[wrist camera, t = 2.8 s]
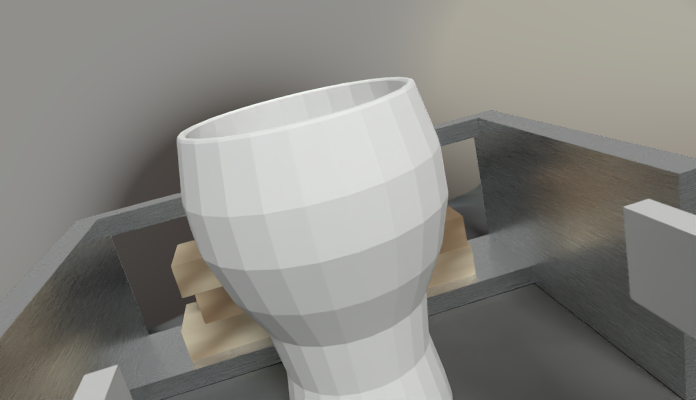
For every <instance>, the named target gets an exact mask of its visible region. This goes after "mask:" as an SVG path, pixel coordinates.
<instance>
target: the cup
mask: <svg viewBox="0 0 696 400" xmlns="http://www.w3.org/2000/svg"><path fill="white" fill-rule="evenodd" d="M177 148H178V161H179V172H180V184H181V196H182V204H183V207H184V210H185V213H186V216H187V219H188V221H189V224H190V228H191V230H192V233H193V236H194V239H195V242H196V245H197V248H198V250H199V252H200V254H201V256H202V258H203V259H204V261H205V262H206V264H207V265H208V266H209V268H210V269H211V271H212V272H213V273H214V275H215V276H216V278H217V279H218V280H219V282H220V283H221V285H222V286H223V287H224V289H225V290H226V292H227V293H228V294H229V296H230V297H231V298H232V300H233V301H234V302H235V303H236V304H237V305H238V306H239V307H240V308H241V309H242V310H244V311H245V312H246V313H247V314H248V315H249V316H250V317H251V318H252V319H254V320H255V321H256V322H257V323H258V324H259V325H260V326H261V327H262V328H264V329H265V330H266V331H267V332H268V334H269V336H270V338H271V340H272V342H273V344H274V346H275V348H276V350H277V352H278V354H279V357H280V359H281V361H282V363H283V365H284V367H285V369H286V371H287V377H288V387H289V397H290V400H453V398H452V391H451V388H450V385H449V382H448V379H447V376H446V373H445V371H444V368H443V366H442V363H441V361H440V358H439V356H438V354H437V351H436V349H435V346H434V344H433V341H432V339H431V337H430V334H429V331H428V311H427V288H428V285H429V282H430V279H431V276H432V273H433V270H434V267H435V264H436V261H437V258H438V255H439V252H440V249H441V247H442V242H443V234H444V226H445V217H446V209H447V201H448V189H447V183H446V177H445V171H444V165H443V160H442V153H441V147H440V143H439V139H438V136H437V134H436V131H435V129H434V127H433V124H432V122H431V119H430V117H429V115H428V113H427V110H426V108H425V105H424V103H423V101H422V99H421V96H420V94H419V91H418V89H417V87H416V84H415V82H414V80H413V79H411V78H406V77H387V78H378V79H369V80H362V81H356V82H349V83H344V84H338V85H333V86H328V87H323V88H318V89H314V90H309V91H304V92H300V93H296V94H292V95H288V96H284V97H280V98H276V99H272V100H269V101H265V102H261V103H258V104H254V105H250V106H247V107H244V108H241V109H237V110H234V111H231V112H228V113H225V114H222V115H220V116H216V117H214V118H211V119H208V120H206V121H203V122H201V123H198V124H196V125H193V126H192V127H190V128H188V129H186V130H184V131H182V132H181V133H180V134H179V136H178V137H177Z"/></svg>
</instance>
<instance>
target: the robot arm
mask: <svg viewBox="0 0 696 400" xmlns="http://www.w3.org/2000/svg"><path fill="white" fill-rule="evenodd" d="M623 214H624V226H625V238H626V250H627V262H628V274H629V286H630V298H631V299H632V300H633V301H635V302H637V303H638V304H640V305H641V306H643V307H645V308H646V309H648V310H650V311H651V312H653V313H654V314H656V315H658V316H659V317H661V318H662V319H664V320H666V321H667V322H669V323H670V324H672V325H674V326H675V327H677V328H679V329H680V330H682V331H683V332H685V333H687V334H688V335H690V336H691V337H693V338H695V339H696V215H694V214H691V213H688V212H685V211H682V210H679V209H677V208H674V207H671V206H668V205H665V204H662V203H660V202H657V201H654V200H651V199H646V200H643V201H640V202H637V203H634V204H630V205H627V206H624V207H623ZM73 400H133V399H132V396H131V394H130V392H129V389H128V387H127V385H126V382H125V380H124V378H123V375H122V373H121V371H120V368H119V366H118V365H115V366H112V367H108V368H105V369H102V370H99V371H95V372H92V373H89V374H86V375H84V377H83V379H82V381H81V383H80V385H79V387H78V389H77V392H76V394H75V396H74V398H73Z"/></svg>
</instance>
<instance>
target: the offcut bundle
mask: <svg viewBox="0 0 696 400" xmlns="http://www.w3.org/2000/svg"><path fill="white" fill-rule="evenodd" d="M171 268H172V271H173V273H174V276H175V279H176V281H177V284H178V287H179V290H180V293H181V296H182V298H184V297H188V296H191V295H195V296H196V299H197V302H194V303H190V304H187V305H186V310H185V314H184V320H183V325H182V330H181V333H182V336H183V338H184V341H185V344H186V347H187V349H188V352H189V355H190V357H191V360H192V361H193V360H197V359H200V358H203V357H206V356H210V355H213V354H216V353H219V352H223V351H226V350H229V349H233V348H236V347H239V346H242V345H246V344H249V343H252V342H255V341H259V340H262V339H265V338H268V337H270V336H269V334H268V332H267V331H266V330H265V329H264V328H262V327H261V326H260V325H259V324H258V323H257V322H256V321H255V320H254V319H252V318H251V317H250V316H249V315H248V314H247V313H246V312H245V311H244V310H242V309H241V308H240V307H239V306H238V305H237V304H236V303H235V302H234V301H233V300H232V298H231V297H230V296H229V294H228V293H227V292H226V290H225V289H224V287H223V286H222V285H221V283H220V282H219V280H218V279H217V278H216V276H215V275H214V273H213V272H212V271H211V269H210V268H209V266H208V265H207V264H206V262H205V261H204V259H203V258H202V256H201V254H200V252H199V250H198V248H197V245H196V242H195V240H194V241H190V242H187V243H183V244H180V245H177V249H176V252H175V255H174V259H173V262H172V265H171ZM474 274H476V272H475V265H474V259H473V253H472V247H471V245H470V244H469V243H468V242H467V238H466V232H465V226H464V220H463V216H462V215H461V214H459V213H458V212H456V211H455V210H454V209H452V208H451V207H450V206H448V205H447V209H446V217H445V226H444V234H443V242H442V247H441V249H440V252H439V255H438V258H437V261H436V264H435V267H434V270H433V273H432V276H431V279H430V282H429V285H428V288H427V289H429V288H432V287H435V286H438V285H442V284H445V283H448V282H451V281H455V280H458V279H461V278H464V277H468V276H471V275H474Z"/></svg>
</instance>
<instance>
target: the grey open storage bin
mask: <svg viewBox="0 0 696 400" xmlns="http://www.w3.org/2000/svg"><path fill="white" fill-rule="evenodd" d="M433 127H434V129H435V131H436V134H437V136H438V139H439V143H440V146H444V145H448V144H451V143H455V142H459V141H462V140H466V139H469V138H473V137H474V141H475V148H476V154H477V160H478V167H479V174H480V180H481V187H482V194H483V200H484V207H485V214H486V220H487V227H488V233H489V234H488V235H485V236H481V237H478V238H474V239H471V240H468V241H467V242H468V243H469V244H470V245H471V247H472V253H473V259H474V265H475V272H476V274H474V275H471V276H468V277H464V278H461V279H458V280H455V281H451V282H448V283H445V284H442V285H438V286H435V287H432V288H429V289H427V311H428V316H430V315H433V314H436V313H439V312H442V311H446V310H449V309H452V308H455V307H458V306H462V305H465V304H468V303H471V302H474V301H478V300H481V299H484V298H487V297H490V296H494V295H497V294H500V293H503V292H506V291H510V290H513V289H516V288H519V287H522V286H526V285H529V284H532V283H535V284H536V285H537V286H539V287H540V288H541V289H543V290H544V291H545V292H546V293H548V294H549V295H550V296H552V297H553V298H554V299H555V300H557V301H558V302H559V303H561V304H562V305H563V306H564V307H566V308H567V309H568V310H570V311H571V312H572V313H573V314H575V315H576V316H577V317H578V318H580V319H581V320H582V321H584V322H585V323H586V324H587V325H589V326H590V327H591V328H593V329H594V330H595V331H596V332H598V333H599V334H600V335H602V336H603V337H604V338H605V339H607V340H608V341H609V342H611V343H612V344H613V345H614V346H616V347H617V348H618V349H620V350H621V351H622V352H623V353H625V354H626V355H627V356H628V357H630V358H631V359H632V360H634V361H635V362H636V363H637V364H639V365H640V366H641V367H643V368H644V369H645V370H646V371H648V372H649V373H650V374H652V375H653V376H654V377H655V378H657V379H658V380H659V381H661V382H662V383H663V384H664V385H666V386H667V387H668V388H670V389H671V390H672V391H673V392H675V393H676V394H677V395H678V396H680V397H681V398H682V399H684V400H692V399H695V398H696V339H695V338H693V337H691V336H690V335H688V334H687V333H685V332H683V331H682V330H680V329H679V328H677V327H675V326H674V325H672V324H670V323H669V322H667V321H666V320H664V319H662V318H661V317H659V316H658V315H656V314H654V313H653V312H651V311H650V310H648V309H646V308H645V307H643V306H641V305H640V304H638V303H637V302H635V301H633V300H632V299H631V298H630V286H629V274H628V262H627V250H626V238H625V226H624V214H623V207H624V206H627V205H630V204H634V203H637V202H640V201H643V200H646V199H651V200H654V201H657V202H660V203H662V204H665V205H668V206H671V207H674V208H677V209H679V210H682V211H685V212H688V213H691V214H694V215H696V158H692V157H688V156H683V155H679V154H675V153H671V152H667V151H662V150H658V149H654V148H649V147H645V146H641V145H637V144H632V143H628V142H624V141H620V140H616V139H611V138H607V137H603V136H598V135H594V134H590V133H586V132H581V131H577V130H573V129H568V128H565V127H560V126H556V125H552V124H548V123H543V122H539V121H535V120H530V119H526V118H522V117H518V116H513V115H509V114H505V113H501V112H497V111H492V110H490V111H486V112H483V113H479V114H475V115H471V116H468V117H464V118H460V119H456V120H453V121H449V122H445V123H441V124H437V125H434V126H433ZM183 216H186V213H185V210H184V207H183V204H182V196H181V193H178V194H174V195H171V196H166V197H163V198H159V199H155V200H151V201H148V202H144V203H140V204H136V205H133V206H129V207H126V208H121V209H118V210H114V211H110V212H107V213H103V214H99V215H95V216H91V217H87V218H84V219H80V220H77V221H76V222H75V223H74V224H73V225H72V226H71V227H70V228H69V230H68V231H67V232H66V233H65V234H64V235H63V236H62V237H61V238H60V239H59V240H58V241H57V242H56V244H55V245H54V246H53V247H52V248H51V249H50V250H49V251H48V252H47V253H46V254H45V255H44V256H43V257H42V258H41V260H40V261H39V262H38V263H37V264H36V265H35V266H34V267H33V268H32V269H31V270H30V271H29V273H28V274H27V275H26V276H25V277H24V278H23V279H22V280H21V281H20V282H19V283H18V284H17V285H16V286H15V287H14V289H13V290H12V291H11V292H10V293H9V294H8V295H7V296H6V297H5V298H4V299H3V300H2V301H1V303H0V400H73V398H74V396H75V394H76V392H77V389H78V387H79V385H80V383H81V381H82V379H83V377H84V375H86V374H89V373H92V372H95V371H99V370H102V369H105V368H108V367H112V366H115V365H118V366H119V368H120V371H121V373H122V375H123V378H124V380H125V382H126V385H127V387H128V389H129V392H130V394H131V396H132V399H133V400H161V399H164V398H168V397H171V396H174V395H177V394H180V393H184V392H187V391H190V390H193V389H196V388H200V387H203V386H206V385H209V384H212V383H216V382H219V381H222V380H225V379H228V378H232V377H235V376H238V375H241V374H244V373H248V372H251V371H254V370H257V369H260V368H264V367H267V366H270V365H273V364H276V363H279V362H282V361H281V359H280V357H279V354H278V352H277V350H276V348H275V346H274V344H273V342H272V340H271V338H270V337H268V338H265V339H262V340H259V341H255V342H252V343H249V344H246V345H242V346H239V347H236V348H233V349H229V350H226V351H223V352H219V353H216V354H213V355H210V356H206V357H203V358H200V359H197V360H193V361H192V360H191V357H190V355H189V352H188V349H187V347H186V344H185V341H184V338H183V336H182V333H181V330H182V326H178V327H175V328H172V329H168V330H165V331H161V332H158V333H155V334H151V335H149V333H148V331H147V328H146V326H145V323H144V320H143V318H142V315H141V313H140V310H139V308H138V305H137V303H136V300H135V298H134V295H133V293H132V290H131V287H130V284H129V282H128V279H127V277H126V274H125V272H124V269H123V267H122V264H121V262H120V259H119V256H118V254H117V251H116V248H115V246H114V243H113V241H112V238H111V236H113V235H116V234H120V233H124V232H127V231H131V230H134V229H138V228H142V227H145V226H149V225H153V224H157V223H160V222H164V221H168V220H171V219H175V218H179V217H183Z"/></svg>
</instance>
